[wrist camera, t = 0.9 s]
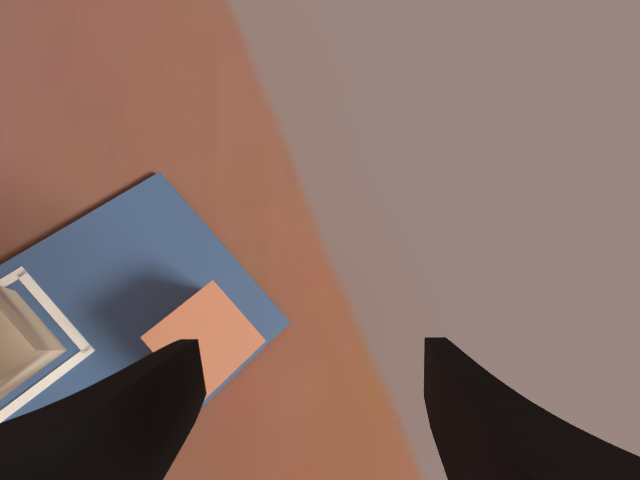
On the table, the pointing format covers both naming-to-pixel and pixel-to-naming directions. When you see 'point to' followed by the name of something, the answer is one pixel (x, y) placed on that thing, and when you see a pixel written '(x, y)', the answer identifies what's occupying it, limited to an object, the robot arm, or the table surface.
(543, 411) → the robot arm
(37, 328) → the maple cube
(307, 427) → the table surface
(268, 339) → the board
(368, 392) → the table surface
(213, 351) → the terracotta cube
